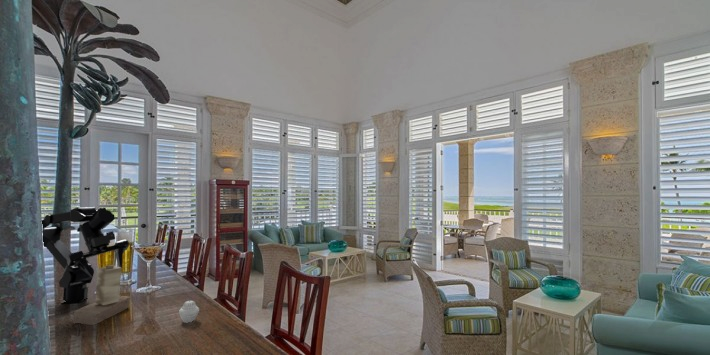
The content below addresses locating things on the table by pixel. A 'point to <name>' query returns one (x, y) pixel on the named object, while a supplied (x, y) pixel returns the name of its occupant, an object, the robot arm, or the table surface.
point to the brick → (100, 311)
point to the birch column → (108, 285)
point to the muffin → (188, 311)
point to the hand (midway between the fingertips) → (107, 272)
